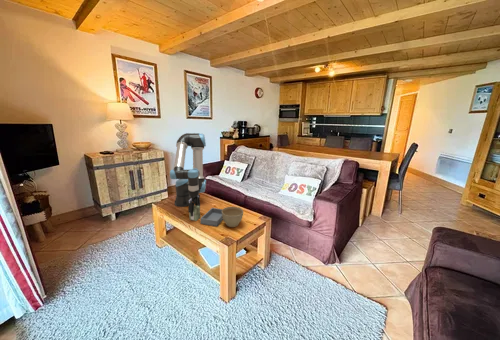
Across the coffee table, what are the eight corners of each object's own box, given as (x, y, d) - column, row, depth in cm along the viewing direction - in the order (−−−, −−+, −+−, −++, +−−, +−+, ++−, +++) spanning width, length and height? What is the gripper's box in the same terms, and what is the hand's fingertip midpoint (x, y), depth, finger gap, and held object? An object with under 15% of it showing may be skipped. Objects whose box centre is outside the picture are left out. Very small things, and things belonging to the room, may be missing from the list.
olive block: (193, 216, 163) (193, 204, 161) (200, 217, 162) (199, 205, 159) (189, 219, 158) (188, 207, 155) (196, 221, 156) (195, 209, 154)
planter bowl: (235, 232, 142) (235, 218, 140) (217, 225, 150) (217, 212, 147) (247, 222, 156) (247, 209, 153) (229, 217, 164) (229, 204, 161)
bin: (212, 212, 170) (212, 207, 169) (227, 215, 167) (227, 210, 166) (200, 223, 152) (200, 218, 151) (217, 226, 149) (217, 221, 147)
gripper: (191, 194, 144) (192, 224, 150) (204, 186, 162) (205, 213, 167) (182, 193, 146) (183, 222, 151) (195, 185, 163) (196, 211, 169)
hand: (194, 217), depth 159 cm, fingers closed on olive block, 6 cm apart
